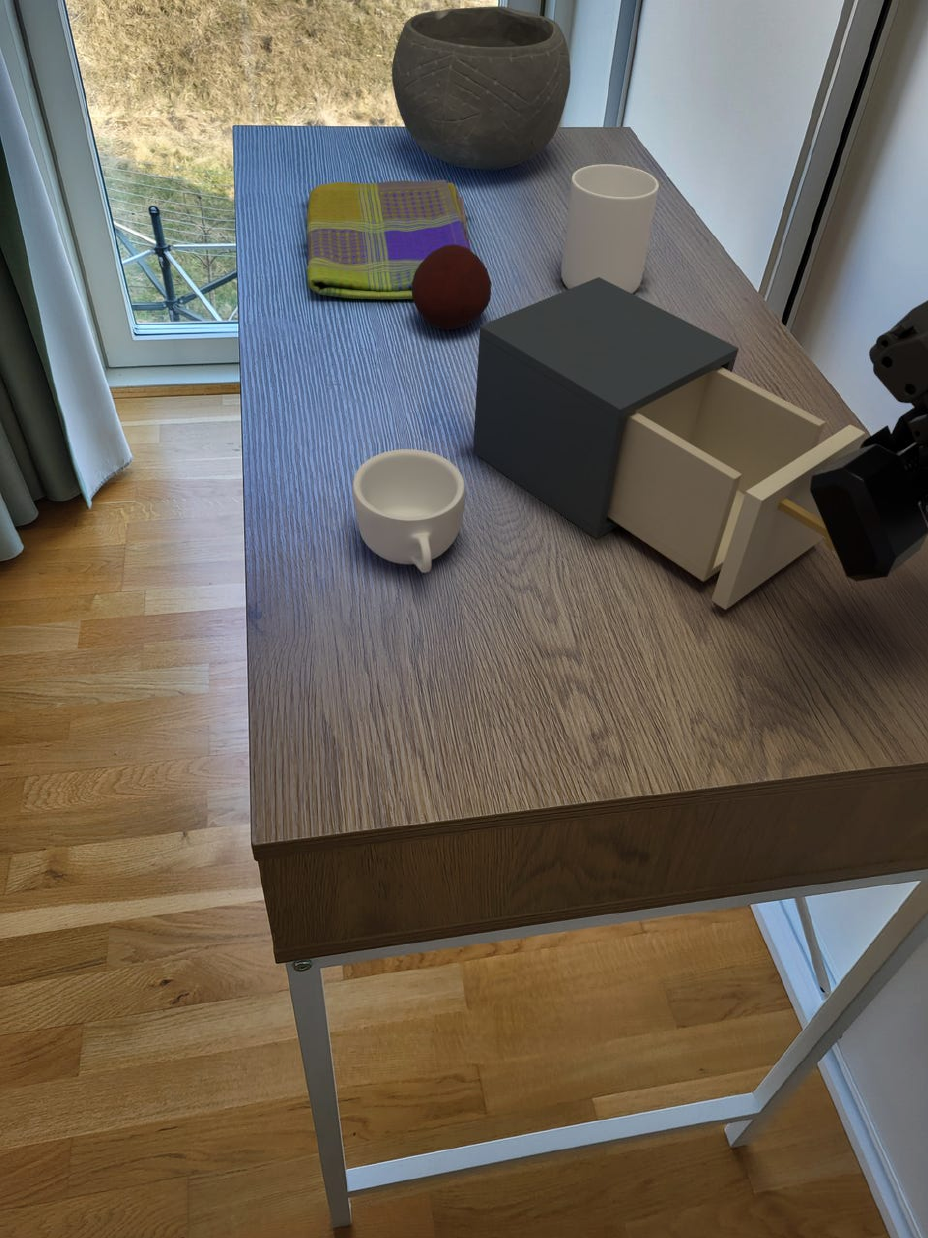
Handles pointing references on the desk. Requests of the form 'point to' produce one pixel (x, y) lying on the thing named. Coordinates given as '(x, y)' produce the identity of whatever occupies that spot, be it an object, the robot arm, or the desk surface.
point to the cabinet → (579, 390)
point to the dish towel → (378, 235)
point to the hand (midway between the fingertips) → (815, 493)
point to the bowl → (481, 84)
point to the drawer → (724, 480)
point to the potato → (451, 287)
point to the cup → (608, 225)
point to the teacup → (409, 505)
